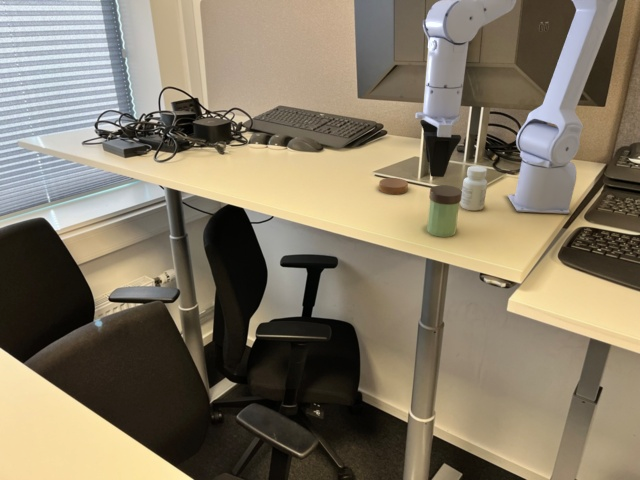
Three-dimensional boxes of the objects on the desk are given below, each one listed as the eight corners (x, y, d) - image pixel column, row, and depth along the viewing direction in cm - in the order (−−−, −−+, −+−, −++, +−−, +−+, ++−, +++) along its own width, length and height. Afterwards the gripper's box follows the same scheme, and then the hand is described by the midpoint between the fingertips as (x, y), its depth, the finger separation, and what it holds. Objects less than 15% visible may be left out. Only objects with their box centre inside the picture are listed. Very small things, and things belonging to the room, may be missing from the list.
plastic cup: (453, 225, 83) (457, 194, 81) (457, 237, 79) (461, 205, 76) (426, 224, 84) (429, 192, 81) (428, 236, 79) (431, 203, 77)
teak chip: (406, 184, 102) (407, 178, 101) (408, 194, 96) (408, 188, 96) (379, 183, 102) (379, 177, 102) (378, 193, 97) (379, 187, 96)
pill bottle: (480, 202, 92) (486, 165, 89) (485, 211, 89) (492, 172, 85) (458, 202, 93) (463, 164, 89) (462, 210, 89) (467, 172, 85)
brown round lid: (458, 193, 81) (459, 185, 80) (463, 205, 76) (464, 196, 75) (428, 192, 81) (428, 184, 81) (430, 204, 77) (431, 195, 76)
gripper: (416, 78, 80) (409, 155, 86) (420, 93, 67) (413, 182, 73) (458, 78, 79) (448, 156, 85) (471, 93, 66) (459, 184, 73)
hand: (435, 168), depth 79 cm, fingers open, 7 cm apart
